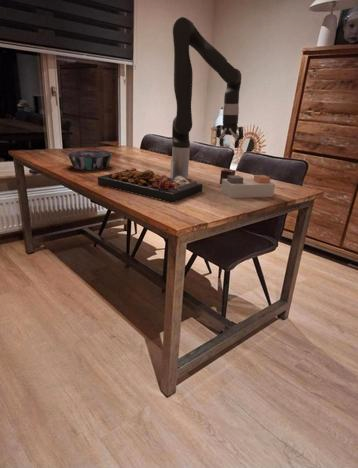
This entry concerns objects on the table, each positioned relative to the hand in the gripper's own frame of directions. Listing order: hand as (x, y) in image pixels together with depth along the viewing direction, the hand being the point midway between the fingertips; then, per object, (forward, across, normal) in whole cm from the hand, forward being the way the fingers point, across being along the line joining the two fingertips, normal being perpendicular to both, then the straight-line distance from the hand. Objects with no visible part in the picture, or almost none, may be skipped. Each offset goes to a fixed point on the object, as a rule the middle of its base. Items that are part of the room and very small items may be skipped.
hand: (228, 147), depth 167 cm
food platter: (+18, -21, -38) cm, 47 cm away
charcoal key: (+14, +13, -15) cm, 25 cm away
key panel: (+19, +17, -10) cm, 28 cm away
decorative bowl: (+16, -78, -28) cm, 85 cm away
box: (+20, 0, 0) cm, 20 cm away
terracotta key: (+15, +22, -4) cm, 27 cm away
